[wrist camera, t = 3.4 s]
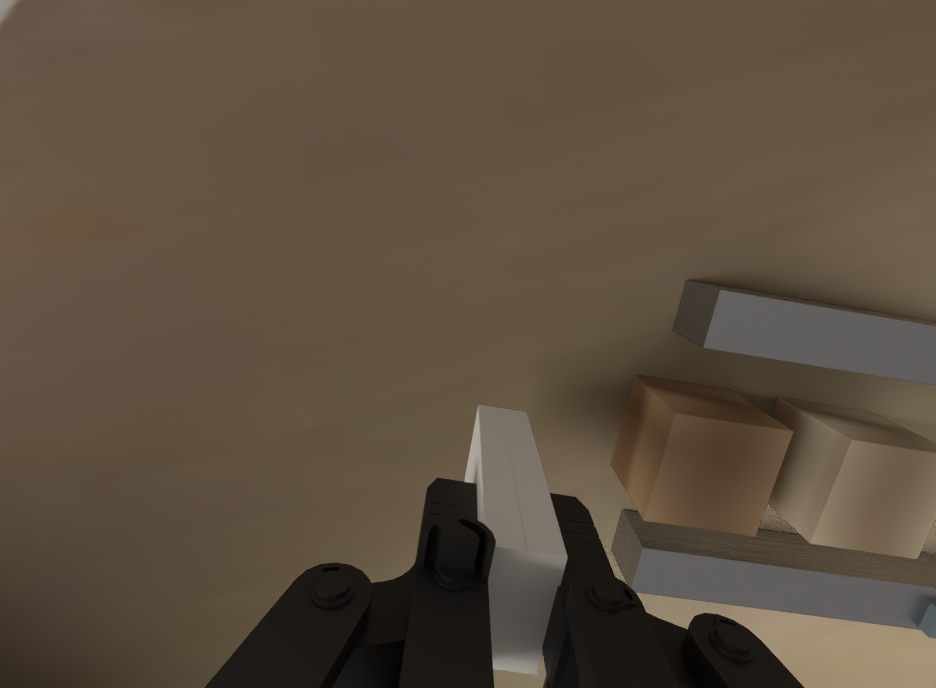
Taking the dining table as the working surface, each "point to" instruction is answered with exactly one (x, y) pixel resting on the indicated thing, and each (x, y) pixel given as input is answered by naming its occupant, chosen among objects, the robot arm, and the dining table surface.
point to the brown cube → (698, 455)
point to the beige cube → (855, 480)
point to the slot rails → (770, 552)
